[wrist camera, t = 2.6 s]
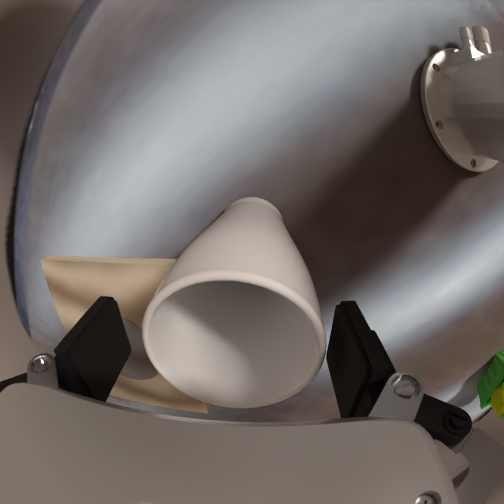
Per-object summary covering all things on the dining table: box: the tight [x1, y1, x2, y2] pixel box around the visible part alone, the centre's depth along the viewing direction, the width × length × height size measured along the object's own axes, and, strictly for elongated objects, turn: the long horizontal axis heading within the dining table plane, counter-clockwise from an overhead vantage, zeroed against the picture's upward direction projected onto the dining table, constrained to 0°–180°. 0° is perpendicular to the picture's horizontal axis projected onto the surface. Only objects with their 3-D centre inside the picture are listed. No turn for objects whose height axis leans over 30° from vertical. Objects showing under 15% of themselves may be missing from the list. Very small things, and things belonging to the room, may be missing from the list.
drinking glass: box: [142, 197, 326, 408], centre depth 16 cm, size 7×7×15 cm
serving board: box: [41, 256, 210, 413], centre depth 28 cm, size 22×18×2 cm
